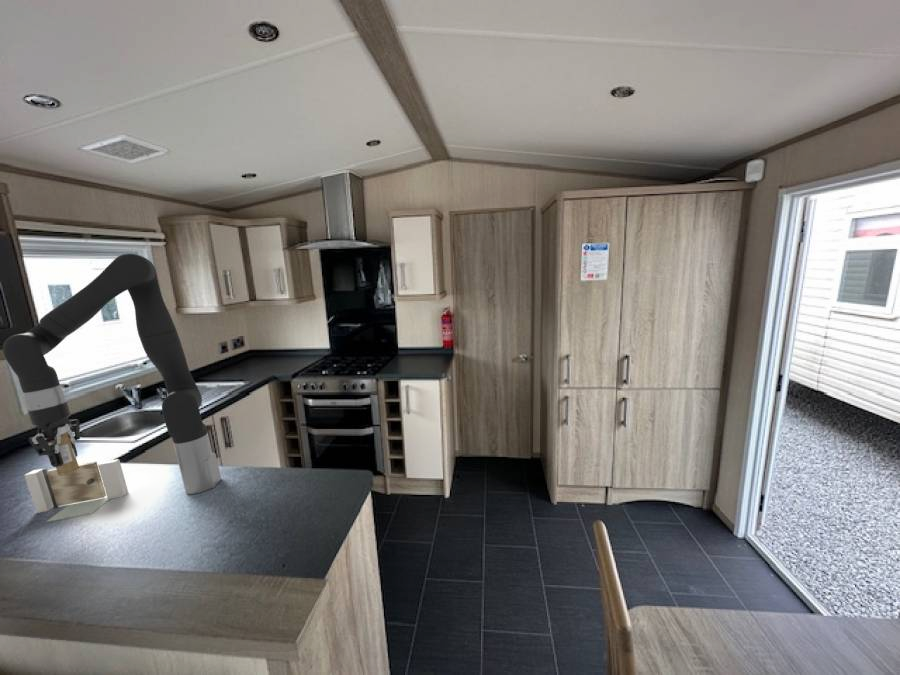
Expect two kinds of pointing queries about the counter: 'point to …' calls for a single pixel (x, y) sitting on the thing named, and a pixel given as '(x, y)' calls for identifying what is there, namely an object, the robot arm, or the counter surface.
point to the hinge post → (39, 490)
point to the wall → (113, 478)
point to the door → (75, 485)
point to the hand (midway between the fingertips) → (65, 461)
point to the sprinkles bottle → (66, 454)
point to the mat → (79, 509)
